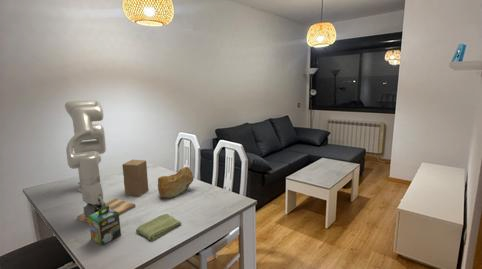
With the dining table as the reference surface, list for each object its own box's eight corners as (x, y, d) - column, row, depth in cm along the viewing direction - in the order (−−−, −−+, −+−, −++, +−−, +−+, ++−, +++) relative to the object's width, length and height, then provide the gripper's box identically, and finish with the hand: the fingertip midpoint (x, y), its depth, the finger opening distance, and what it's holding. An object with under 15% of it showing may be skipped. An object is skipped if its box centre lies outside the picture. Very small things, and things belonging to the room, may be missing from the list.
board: (77, 219, 126) (77, 216, 126) (115, 201, 146) (115, 198, 145) (98, 226, 120) (98, 223, 119) (135, 206, 139) (135, 204, 139)
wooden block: (139, 196, 152) (136, 165, 148) (125, 195, 154) (121, 164, 150) (148, 190, 161) (146, 160, 157) (134, 188, 163) (132, 159, 159)
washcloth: (183, 225, 122) (182, 219, 121) (151, 243, 108) (150, 236, 107) (166, 216, 129) (165, 211, 129) (134, 232, 115) (133, 226, 115)
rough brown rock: (183, 184, 173) (180, 163, 170) (197, 189, 161) (194, 166, 159) (151, 195, 156) (147, 173, 154) (164, 202, 145) (160, 177, 142)
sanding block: (85, 218, 124) (83, 207, 123) (100, 211, 131) (98, 200, 130) (91, 220, 122) (89, 209, 121) (106, 213, 129) (105, 202, 128)
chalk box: (110, 229, 118) (107, 200, 115) (122, 235, 113) (118, 205, 110) (90, 239, 110) (86, 208, 107) (101, 246, 105) (97, 214, 102)
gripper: (72, 180, 123) (77, 214, 126) (95, 185, 116) (99, 221, 119) (87, 175, 130) (91, 207, 133) (109, 180, 122) (113, 214, 126)
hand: (95, 213), depth 126 cm, fingers closed on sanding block, 5 cm apart
